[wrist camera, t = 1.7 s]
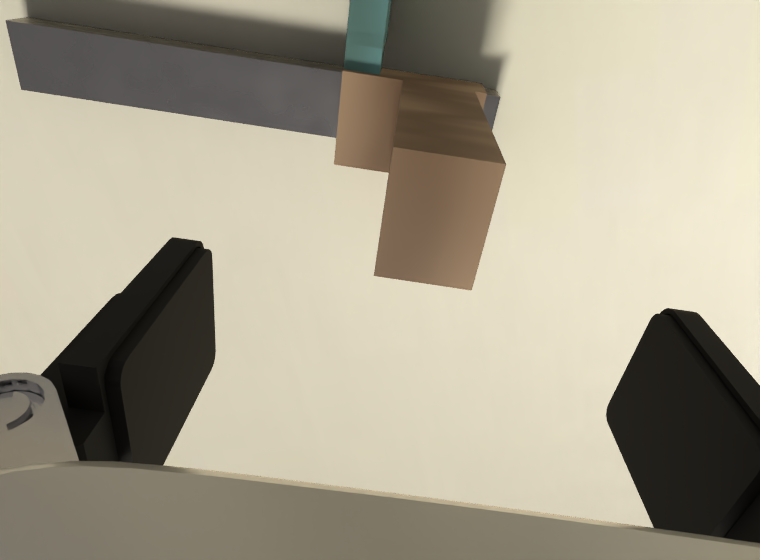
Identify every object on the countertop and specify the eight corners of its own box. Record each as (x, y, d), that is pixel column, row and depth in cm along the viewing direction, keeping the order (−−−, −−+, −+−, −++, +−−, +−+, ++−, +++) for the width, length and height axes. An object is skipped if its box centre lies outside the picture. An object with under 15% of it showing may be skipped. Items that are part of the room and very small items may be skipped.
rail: (496, 90, 25) (500, 97, 23) (481, 150, 26) (484, 160, 25) (27, 17, 24) (5, 20, 23) (40, 83, 26) (21, 89, 25)
